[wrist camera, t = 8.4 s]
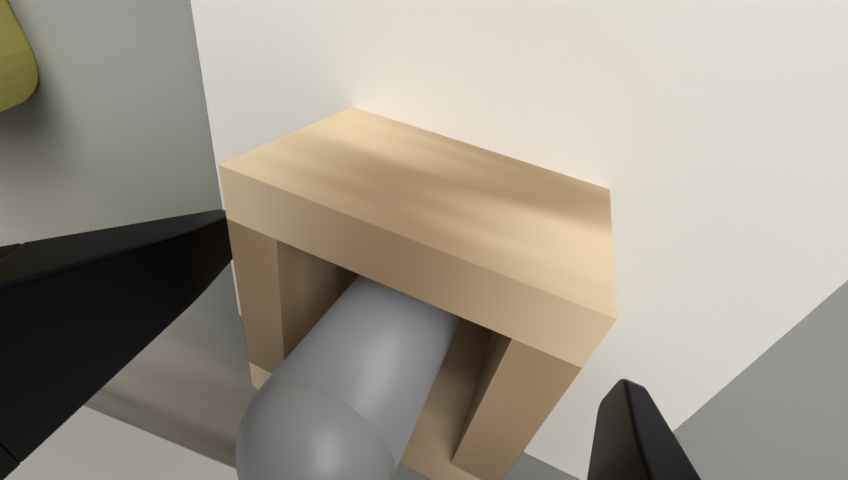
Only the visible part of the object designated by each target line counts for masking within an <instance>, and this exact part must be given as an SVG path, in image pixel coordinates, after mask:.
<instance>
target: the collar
mask: <svg viewBox="0 0 848 480" xmlns="http://www.w3.org/2000/svg"><path fill="white" fill-rule="evenodd" d="M218 166H219V172H220V179H221V185H222V192H223V198H224V204H225V211H226V217H227V224H228V230H229V237H230V243H231V250H232V256H233V263H234V269H235V276H236V282H237V289H238V295H239V302H240V308H241V314H242V321H243V327H244V334H245V340H246V347H247V353H248V360H249V366H250V373H251V379H252V386H253V387H255V388H257V389H260V388H261V387H262V386H263V384H264V383H265V382H266V381H267V380H268V379H269V378H270V376H271V375H272V374H273V373H274V372H275V371H276V370H277V368H278V367H279V366H280V365H281V364H282V363H283V362H284V360H285V359H286V358H287V357H288V356H289V355H290V353H291V352H292V351H293V350H294V349H295V348H296V347H297V345H298V344H299V343H300V342H301V341H302V340H303V339H304V337H305V336H306V335H307V334H308V333H309V332H310V331H311V329H312V328H313V327H314V326H315V325H316V324H317V323H318V321H319V320H320V319H321V318H322V317H323V316H324V315H325V313H326V312H327V311H328V310H329V309H330V308H331V306H332V305H333V304H334V303H335V302H336V301H337V300H338V298H339V297H340V296H341V295H342V294H343V293H344V292H345V290H346V289H347V288H348V287H349V286H350V285H351V284H352V282H353V281H354V280H355V279H356V278H357V277H358V276H359V274H360V275H362V276H365V277H367V278H369V279H372V280H374V281H376V282H379V283H381V284H384V285H386V286H388V287H391V288H393V289H395V290H398V291H400V292H403V293H405V294H407V295H410V296H412V297H415V298H417V299H419V300H422V301H424V302H426V303H429V304H431V305H434V306H436V307H438V308H441V309H443V310H445V311H448V312H450V313H453V314H455V315H457V316H460V317H462V319H461V321H460V323H459V326H458V328H457V330H456V333H455V335H454V337H453V340H452V342H451V344H450V347H449V349H448V351H447V353H446V356H445V358H444V360H443V363H442V365H441V367H440V370H439V372H438V374H437V377H436V379H435V381H434V384H433V386H432V388H431V391H430V393H429V395H428V398H427V400H426V402H425V405H424V407H423V409H422V411H421V414H420V416H419V418H418V421H417V423H416V425H415V428H414V430H413V432H412V435H411V437H410V439H409V442H408V444H407V446H406V449H405V451H404V453H403V456H402V458H401V460H400V462H399V463H401V464H403V465H404V466H406V467H408V468H410V469H412V470H414V471H416V472H418V473H420V474H422V475H424V476H426V477H427V478H429V479H431V480H503V479H504V478H505V476H506V475H507V473H508V472H509V470H510V469H511V468H512V466H513V465H514V463H515V462H516V461H517V459H518V458H519V456H520V455H521V454H522V452H523V451H524V449H525V448H526V447H527V445H528V444H529V442H530V441H531V440H532V438H533V437H534V435H535V434H536V433H537V431H538V430H539V428H540V427H541V425H542V424H543V423H544V421H545V420H546V418H547V417H548V416H549V414H550V413H551V411H552V410H553V409H554V407H555V406H556V404H557V403H558V402H559V400H560V399H561V397H562V396H563V395H564V393H565V392H566V390H567V389H568V387H569V386H570V385H571V383H572V382H573V380H574V379H575V378H576V376H577V375H578V373H579V372H580V371H581V369H582V368H583V366H584V365H585V364H586V362H587V361H588V359H589V358H590V357H591V355H592V354H593V352H594V351H595V350H596V348H597V347H598V345H599V344H600V342H601V341H602V340H603V338H604V337H605V335H606V334H607V333H608V331H609V330H610V328H611V327H612V326H613V324H614V323H615V321H616V320H617V308H616V291H615V273H614V255H613V238H612V220H611V202H610V189H607V188H604V187H601V186H598V185H595V184H592V183H589V182H586V181H583V180H579V179H576V178H573V177H570V176H567V175H564V174H561V173H558V172H555V171H551V170H548V169H545V168H542V167H539V166H536V165H533V164H530V163H527V162H524V161H520V160H517V159H514V158H511V157H508V156H505V155H502V154H499V153H496V152H492V151H489V150H486V149H483V148H480V147H477V146H474V145H471V144H468V143H464V142H461V141H458V140H455V139H452V138H449V137H446V136H443V135H440V134H436V133H433V132H430V131H427V130H424V129H421V128H418V127H415V126H412V125H408V124H405V123H402V122H399V121H396V120H393V119H390V118H387V117H384V116H380V115H377V114H374V113H371V112H368V111H365V110H362V109H359V108H356V107H350V108H348V109H345V110H343V111H341V112H339V113H336V114H334V115H332V116H329V117H327V118H325V119H322V120H320V121H318V122H315V123H313V124H311V125H308V126H306V127H304V128H302V129H299V130H297V131H295V132H292V133H290V134H288V135H285V136H283V137H281V138H278V139H276V140H274V141H272V142H269V143H267V144H265V145H262V146H260V147H258V148H255V149H253V150H251V151H248V152H246V153H244V154H242V155H239V156H237V157H235V158H232V159H230V160H228V161H225V162H223V163H221V164H218Z"/></svg>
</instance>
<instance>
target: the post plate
mask: <svg viewBox="0 0 848 480" xmlns="http://www.w3.org/2000/svg"><path fill="white" fill-rule="evenodd" d="M191 7H192V13H193V20H194V26H195V33H196V39H197V46H198V52H199V59H200V65H201V71H202V78H203V84H204V91H205V97H206V104H207V110H208V117H209V123H210V130H211V136H212V143H213V149H214V156H215V162H216V169H217V175H218V182H219V188H220V195H221V201H222V208H223V210H225V204H224V198H223V192H222V185H221V179H220V172H219V166H218V164H221V163H223V162H225V161H228V160H230V159H232V158H235V157H237V156H239V155H242V154H244V153H246V152H248V151H251V150H253V149H255V148H258V147H260V146H262V145H265V144H267V143H269V142H272V141H274V140H276V139H278V138H281V137H283V136H285V135H288V134H290V133H292V132H295V131H297V130H299V129H302V128H304V127H306V126H308V125H311V124H313V123H315V122H318V121H320V120H322V119H325V118H327V117H329V116H332V115H334V114H336V113H339V112H341V111H343V110H345V109H348V108H350V107H356V108H359V109H362V110H365V111H368V112H371V113H374V114H377V115H380V116H384V117H387V118H390V119H393V120H396V121H399V122H402V123H405V124H408V125H412V126H415V127H418V128H421V129H424V130H427V131H430V132H433V133H436V134H440V135H443V136H446V137H449V138H452V139H455V140H458V141H461V142H464V143H468V144H471V145H474V146H477V147H480V148H483V149H486V150H489V151H492V152H496V153H499V154H502V155H505V156H508V157H511V158H514V159H517V160H520V161H524V162H527V163H530V164H533V165H536V166H539V167H542V168H545V169H548V170H551V171H555V172H558V173H561V174H564V175H567V176H570V177H573V178H576V179H579V180H583V181H586V182H589V183H592V184H595V185H598V186H601V187H604V188H607V189H610V202H611V220H612V238H613V255H614V273H615V291H616V308H617V320H616V321H615V323H614V324H613V326H612V327H611V328H610V330H609V331H608V333H607V334H606V335H605V337H604V338H603V340H602V341H601V342H600V344H599V345H598V347H597V348H596V350H595V351H594V352H593V354H592V355H591V357H590V358H589V359H588V361H587V362H586V364H585V365H584V366H583V368H582V369H581V371H580V372H579V373H578V375H577V376H576V378H575V379H574V380H573V382H572V383H571V385H570V386H569V387H568V389H567V390H566V392H565V393H564V395H563V396H562V397H561V399H560V400H559V402H558V403H557V404H556V406H555V407H554V409H553V410H552V411H551V413H550V414H549V416H548V417H547V418H546V420H545V421H544V423H543V424H542V425H541V427H540V428H539V430H538V431H537V433H536V434H535V435H534V437H533V438H532V440H531V441H530V442H529V444H528V445H527V447H526V448H525V449H524V451H523V452H525V453H527V454H529V455H531V456H533V457H535V458H537V459H539V460H541V461H543V462H545V463H547V464H549V465H551V466H553V467H556V468H558V469H560V470H562V471H564V472H566V473H568V474H570V475H572V476H574V477H576V478H578V479H580V480H587V476H588V469H589V463H590V456H591V450H592V444H593V437H594V431H595V425H596V419H597V412H598V408H599V405H600V403H601V401H602V399H603V398H604V397H605V396H606V395H607V393H608V392H609V391H610V390H611V389H612V387H613V386H614V385H615V384H616V383H617V382H618V381H619V380H620V379H628V380H630V381H632V382H635V383H637V384H639V385H642V386H643V387H645V388H646V390H647V391H648V392H649V394H650V396H651V397H652V399H653V401H654V402H655V404H656V406H657V407H658V409H659V411H660V412H661V414H662V416H663V417H664V419H665V421H666V422H667V424H668V426H669V427H670V429H671V431H672V432H673V431H674V430H675V429H676V428H678V427H679V426H680V425H681V424H682V423H683V422H684V421H686V420H687V419H688V418H689V417H690V416H691V415H692V414H694V413H695V412H696V411H697V410H698V409H699V408H701V407H702V406H703V405H704V404H705V403H706V402H707V401H709V400H710V399H711V398H712V397H713V396H714V395H716V394H717V393H718V392H719V391H720V390H721V389H722V388H724V387H725V386H726V385H727V384H728V383H729V382H730V381H732V380H733V379H734V378H735V377H736V376H737V375H739V374H740V373H741V372H742V371H743V370H744V369H745V368H747V367H748V366H749V365H750V364H751V363H752V362H754V361H755V360H756V359H757V358H758V357H759V356H760V355H762V354H763V353H764V352H765V351H766V350H767V349H768V348H770V347H771V346H772V345H773V344H774V343H775V342H777V341H778V340H779V339H780V338H781V337H782V336H783V335H785V334H786V333H787V332H788V331H789V330H790V329H791V328H793V327H794V326H795V325H796V324H797V323H798V322H800V321H801V320H802V319H803V318H804V317H805V316H806V315H808V314H809V313H810V312H811V311H812V310H813V309H815V308H816V307H817V306H818V305H819V304H820V303H821V302H823V301H824V300H825V299H826V298H827V297H828V296H829V295H831V294H832V293H833V292H834V291H835V290H836V289H838V288H839V287H840V286H841V285H842V284H843V283H844V282H846V281H847V280H848V0H191ZM231 266H232V272H233V279H234V285H235V292H236V298H237V305H238V311H239V315H241V316H242V314H241V308H240V302H239V295H238V289H237V282H236V276H235V269H234V263H233V259H232V260H231ZM461 319H462V317H460V316H457V315H455V314H453V313H450V312H448V311H445V310H443V309H441V308H438V307H436V306H434V305H431V304H429V303H426V302H424V301H422V300H419V299H417V298H415V297H412V296H410V295H407V294H405V293H403V292H400V291H398V290H395V289H393V288H391V287H388V286H386V285H384V284H381V283H379V282H376V281H374V280H372V279H369V278H367V277H365V276H362V275H360V274H359V276H358V277H357V278H356V279H355V280H354V281H353V282H352V284H351V285H350V286H349V287H348V288H347V289H346V290H345V292H344V293H343V294H342V295H341V296H340V297H339V298H338V300H337V301H336V302H335V303H334V304H333V305H332V306H331V308H330V309H329V310H328V311H327V312H326V313H325V315H324V316H323V317H322V318H321V319H320V320H319V321H318V323H317V324H316V325H315V326H314V327H313V328H312V329H311V331H310V332H309V333H308V334H307V335H306V336H305V337H304V339H303V340H302V341H301V342H300V343H299V344H298V345H297V347H296V348H295V349H294V350H293V351H292V352H291V353H290V355H289V356H288V357H287V358H286V359H285V360H284V362H283V363H282V364H281V365H280V366H279V367H278V368H277V370H276V371H275V372H274V373H273V374H272V375H271V376H270V378H269V379H268V380H267V381H266V382H265V383H264V384H263V386H262V387H261V388H260V389H259V391H258V392H257V393H256V394H255V396H254V397H253V399H252V401H251V402H250V404H249V406H248V408H247V410H246V412H245V414H244V417H243V419H242V422H241V425H240V428H239V432H238V437H237V444H236V467H237V475H238V478H239V480H392V478H393V476H394V474H395V472H396V469H397V467H398V465H399V462H400V460H401V458H402V456H403V453H404V451H405V449H406V446H407V444H408V442H409V439H410V437H411V435H412V432H413V430H414V428H415V425H416V423H417V421H418V418H419V416H420V414H421V411H422V409H423V407H424V405H425V402H426V400H427V398H428V395H429V393H430V391H431V388H432V386H433V384H434V381H435V379H436V377H437V374H438V372H439V370H440V367H441V365H442V363H443V360H444V358H445V356H446V353H447V351H448V349H449V347H450V344H451V342H452V340H453V337H454V335H455V333H456V330H457V328H458V326H459V323H460V321H461Z"/></svg>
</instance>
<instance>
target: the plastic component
mask: <svg viewBox="0 0 848 480" xmlns="http://www.w3.org/2000/svg"><path fill="white" fill-rule="evenodd" d="M38 78H39V76H38V68H37V64H36V60H35V57H34V54H33V52H32V49H31V47H30V45H29V42H28V40H27V38H26V36H25V34H24V32H23V30H22V28H21V26H20V24H19V23H18V21H17V19H16V17H15V15H14V13H13V11H12V9H11V7H10V5H9V3H8V1H7V0H0V112H2V111H4V110H6V109H9V108H11V107H13V106H15V105H18V104H20V103H22V102H24V101H25V100H26V99H27V98H29V96H30V95H31V94H32V93H33V92H34V90H35V88H36V86H37V83H38Z"/></svg>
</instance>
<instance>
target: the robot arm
mask: <svg viewBox="0 0 848 480" xmlns="http://www.w3.org/2000/svg"><path fill="white" fill-rule="evenodd" d="M232 259H233V256H232V250H231V243H230V237H229V230H228V224H227V217H226V211H225V210H223V209H219V210H213V211H207V212H201V213H195V214H189V215H183V216H178V217H172V218H166V219H160V220H154V221H148V222H142V223H137V224H131V225H125V226H119V227H113V228H107V229H101V230H95V231H90V232H84V233H78V234H72V235H66V236H60V237H54V238H48V239H43V240H37V241H31V242H25V243H23V244H13V245H7V246H1V247H0V480H4V479H5V478H6V477H7V476H8V475H9V474H10V473H11V472H12V471H13V470H14V469H15V468H17V467H18V466H19V465H20V462H22V461H24V460H25V459H26V458H27V457H28V456H29V455H30V454H31V453H32V452H33V451H34V450H35V449H37V448H38V446H40V445H41V444H42V443H43V442H44V441H45V440H46V439H47V438H48V437H49V436H50V435H52V434H53V433H54V432H55V431H56V430H57V429H58V428H59V427H60V426H61V425H62V424H63V423H64V422H66V421H67V420H68V419H69V418H70V417H71V416H72V415H73V414H74V413H75V412H76V411H77V410H78V409H79V408H81V407H82V406H83V405H84V404H85V403H86V402H87V401H88V400H89V399H90V398H91V397H92V396H93V395H95V394H96V393H97V392H98V391H99V390H100V389H101V388H102V387H103V386H104V385H105V384H106V383H107V382H108V381H110V380H111V379H112V378H113V377H114V376H115V375H116V374H117V373H118V372H119V371H120V370H121V369H122V368H124V367H125V366H126V365H127V364H128V363H129V362H130V361H131V360H132V359H133V358H134V357H135V356H136V355H137V354H139V353H140V352H141V351H142V350H143V349H144V348H145V347H146V346H147V345H148V344H149V343H150V342H151V341H153V340H154V339H155V338H156V337H157V336H158V335H159V334H160V333H161V332H162V331H163V330H164V329H165V328H166V327H168V326H169V325H170V324H171V323H172V322H173V321H174V320H175V319H176V318H177V317H178V316H179V315H180V314H182V313H183V312H184V311H185V310H186V309H187V308H188V307H189V306H190V305H191V304H192V303H193V302H194V301H195V300H196V299H197V298H198V297H199V296H200V295H201V294H202V293H203V292H204V291H205V290H206V289H207V288H208V286H209V285H210V284H211V283H212V282H213V281H214V280H215V278H216V277H217V276H218V275H219V274H220V273H221V272H222V271H223V269H224V268H225V267H226V266H227V265H228V264H229V263H230V261H231V260H232ZM587 480H701V479H700V477H699V476H698V474H697V472H696V471H695V469H694V467H693V466H692V464H691V462H690V461H689V459H688V457H687V456H686V454H685V452H684V451H683V449H682V447H681V446H680V444H679V442H678V441H677V439H676V437H675V436H674V434H673V432H672V431H671V429H670V427H669V426H668V424H667V422H666V421H665V419H664V417H663V416H662V414H661V412H660V411H659V409H658V407H657V406H656V404H655V402H654V401H653V399H652V397H651V396H650V394H649V392H648V391H647V390H646V388H645V387H643V386H642V385H639V384H637V383H635V382H632V381H630V380H628V379H620V380H619V381H618V382H617V383H616V384H615V385H614V386H613V387H612V389H611V390H610V391H609V392H608V393H607V395H606V396H605V397H604V398H603V399H602V401H601V403H600V405H599V408H598V412H597V419H596V425H595V431H594V437H593V444H592V450H591V456H590V463H589V469H588V476H587Z"/></svg>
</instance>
